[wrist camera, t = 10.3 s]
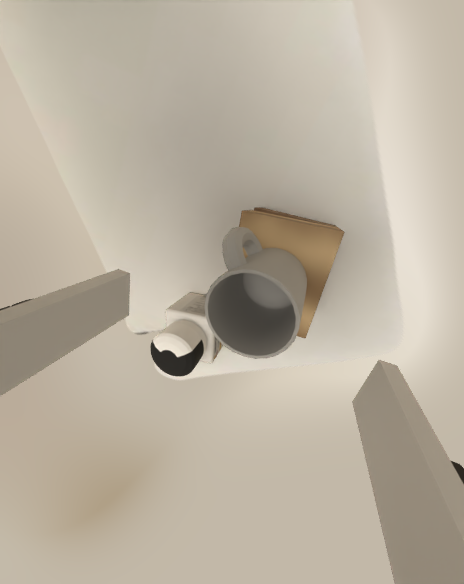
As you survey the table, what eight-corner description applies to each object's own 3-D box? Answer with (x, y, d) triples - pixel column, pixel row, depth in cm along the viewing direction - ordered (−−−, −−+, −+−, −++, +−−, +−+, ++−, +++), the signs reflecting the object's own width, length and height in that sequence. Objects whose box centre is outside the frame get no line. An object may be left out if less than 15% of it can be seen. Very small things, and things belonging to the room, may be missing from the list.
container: (228, 338, 41) (196, 390, 29) (189, 329, 43) (145, 375, 31) (230, 299, 38) (196, 339, 26) (188, 291, 40) (140, 326, 28)
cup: (255, 316, 27) (227, 364, 19) (220, 236, 25) (173, 253, 17) (317, 301, 23) (314, 350, 16) (283, 207, 21) (260, 211, 14)
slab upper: (252, 210, 28) (241, 210, 23) (337, 227, 25) (344, 231, 21) (235, 298, 32) (223, 312, 28) (305, 318, 30) (305, 338, 26)
